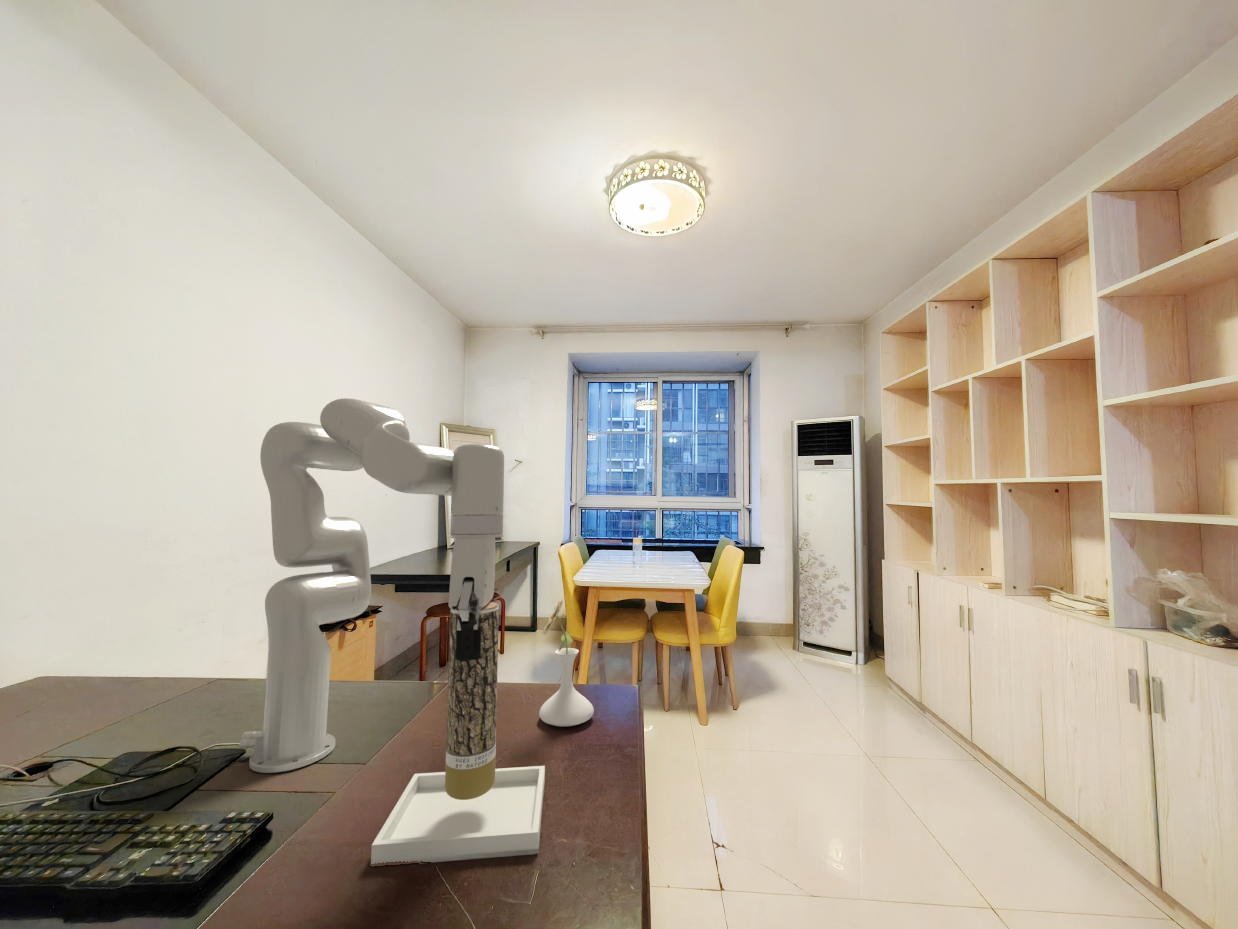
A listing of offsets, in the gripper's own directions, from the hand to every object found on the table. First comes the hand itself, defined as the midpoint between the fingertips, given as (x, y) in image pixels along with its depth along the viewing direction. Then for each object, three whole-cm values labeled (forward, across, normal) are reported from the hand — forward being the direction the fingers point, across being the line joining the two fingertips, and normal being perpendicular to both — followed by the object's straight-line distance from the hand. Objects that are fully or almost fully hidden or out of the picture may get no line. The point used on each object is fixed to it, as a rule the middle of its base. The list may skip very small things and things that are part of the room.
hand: (473, 650), depth 68 cm
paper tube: (+19, 0, 0) cm, 19 cm away
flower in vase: (+23, -30, +13) cm, 40 cm away
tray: (+23, 0, 0) cm, 23 cm away
